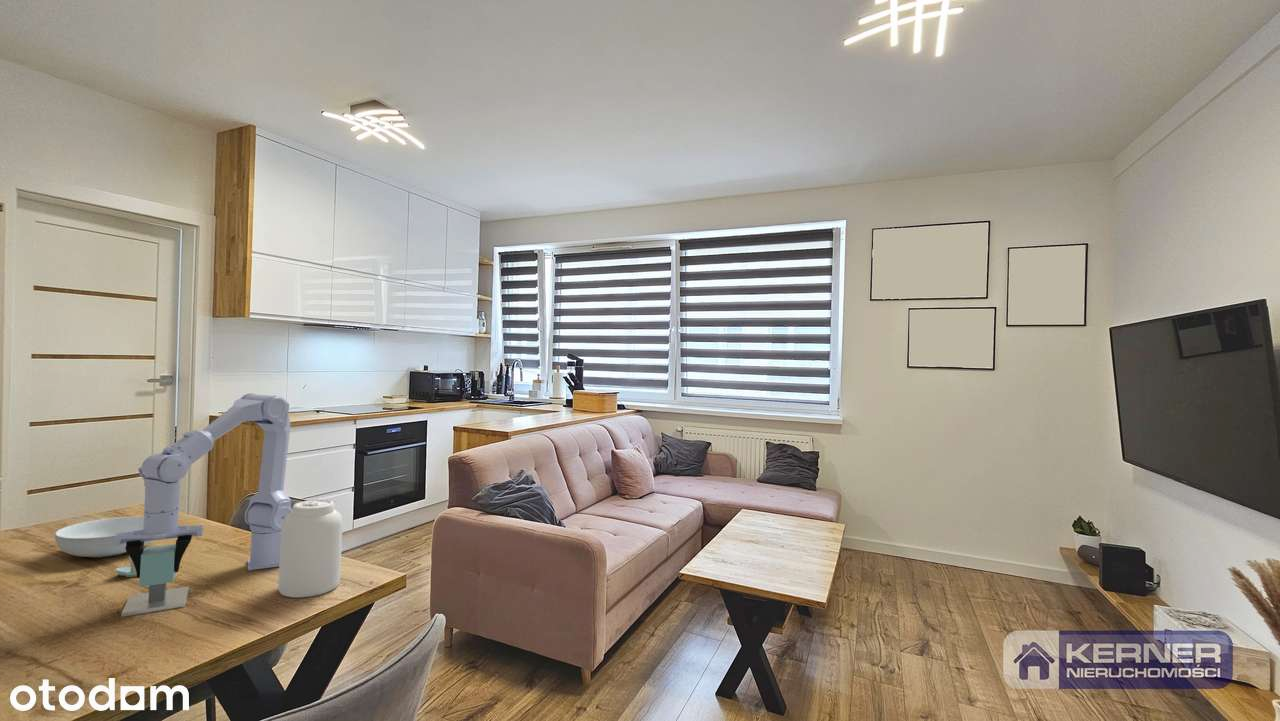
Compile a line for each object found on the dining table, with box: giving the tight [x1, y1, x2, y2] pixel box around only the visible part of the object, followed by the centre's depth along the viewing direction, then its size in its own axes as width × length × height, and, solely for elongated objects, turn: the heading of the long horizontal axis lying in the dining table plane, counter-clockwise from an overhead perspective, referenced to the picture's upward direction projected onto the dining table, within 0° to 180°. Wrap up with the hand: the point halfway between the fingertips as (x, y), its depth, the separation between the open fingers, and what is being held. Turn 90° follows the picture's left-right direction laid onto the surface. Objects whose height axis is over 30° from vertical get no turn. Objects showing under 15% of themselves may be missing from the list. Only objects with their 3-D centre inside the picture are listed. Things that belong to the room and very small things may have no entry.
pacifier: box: [115, 555, 137, 578], centre depth 136 cm, size 7×6×6 cm
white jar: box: [277, 499, 344, 598], centre depth 132 cm, size 12×12×20 cm
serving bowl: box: [54, 516, 154, 558], centre depth 150 cm, size 21×21×7 cm
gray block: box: [120, 583, 190, 618], centre depth 121 cm, size 10×10×7 cm
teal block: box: [139, 543, 177, 588], centre depth 121 cm, size 5×5×7 cm
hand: (158, 573), depth 121 cm, fingers closed on teal block, 5 cm apart
